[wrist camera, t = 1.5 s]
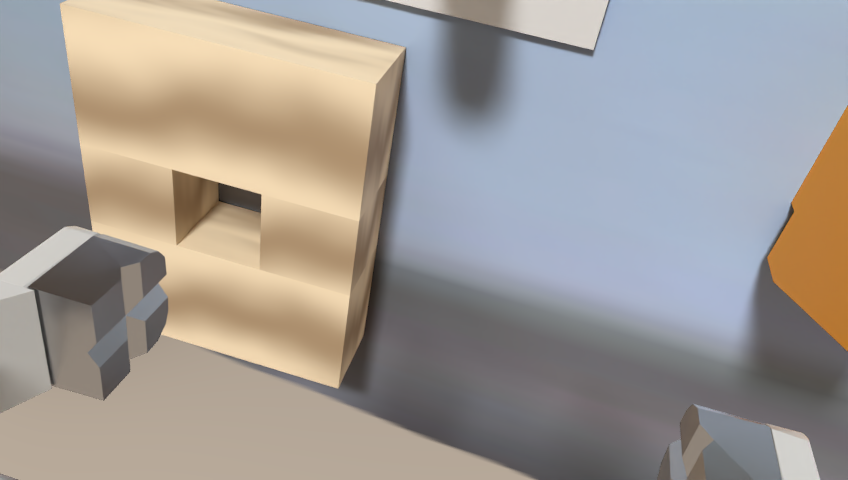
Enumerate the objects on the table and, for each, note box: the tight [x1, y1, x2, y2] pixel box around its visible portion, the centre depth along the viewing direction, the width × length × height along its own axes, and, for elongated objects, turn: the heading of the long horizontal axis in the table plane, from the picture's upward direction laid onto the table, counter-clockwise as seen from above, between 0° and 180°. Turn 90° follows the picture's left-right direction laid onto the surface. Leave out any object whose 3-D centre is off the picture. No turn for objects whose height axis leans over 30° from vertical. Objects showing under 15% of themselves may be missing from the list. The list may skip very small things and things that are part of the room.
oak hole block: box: [60, 0, 406, 388], centre depth 36 cm, size 18×14×4 cm
